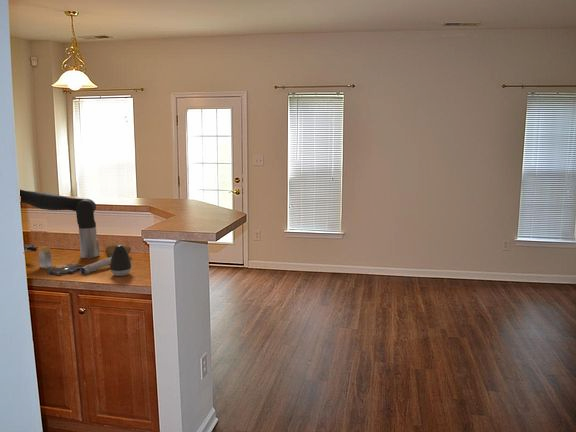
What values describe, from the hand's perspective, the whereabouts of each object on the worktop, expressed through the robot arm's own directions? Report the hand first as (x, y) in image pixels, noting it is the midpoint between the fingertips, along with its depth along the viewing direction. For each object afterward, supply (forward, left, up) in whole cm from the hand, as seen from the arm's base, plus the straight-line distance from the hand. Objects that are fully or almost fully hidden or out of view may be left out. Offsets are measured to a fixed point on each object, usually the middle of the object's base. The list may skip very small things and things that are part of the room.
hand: (29, 251), depth 258 cm
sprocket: (-7, +25, -8) cm, 27 cm away
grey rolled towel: (-22, +37, -8) cm, 43 cm away
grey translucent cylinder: (-4, +10, -8) cm, 13 cm away
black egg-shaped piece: (-22, +54, -8) cm, 58 cm away
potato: (-38, +25, -8) cm, 46 cm away
